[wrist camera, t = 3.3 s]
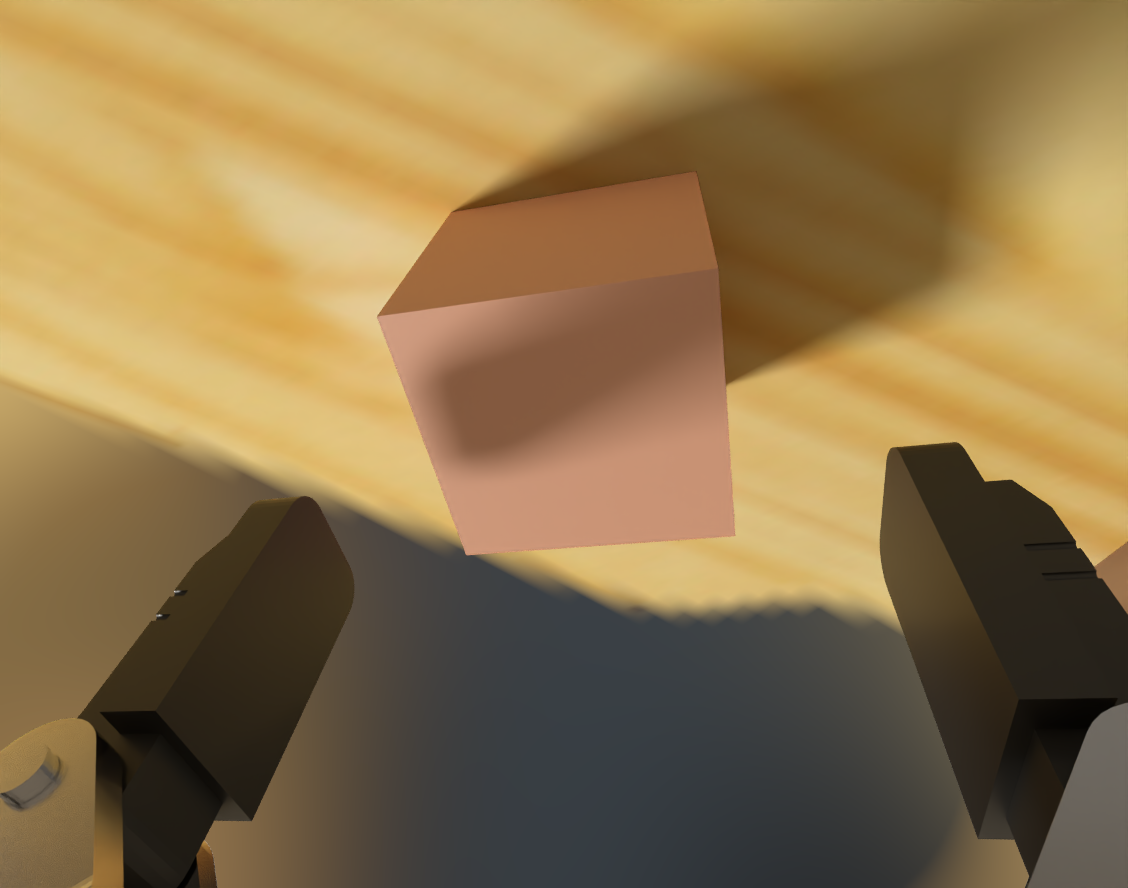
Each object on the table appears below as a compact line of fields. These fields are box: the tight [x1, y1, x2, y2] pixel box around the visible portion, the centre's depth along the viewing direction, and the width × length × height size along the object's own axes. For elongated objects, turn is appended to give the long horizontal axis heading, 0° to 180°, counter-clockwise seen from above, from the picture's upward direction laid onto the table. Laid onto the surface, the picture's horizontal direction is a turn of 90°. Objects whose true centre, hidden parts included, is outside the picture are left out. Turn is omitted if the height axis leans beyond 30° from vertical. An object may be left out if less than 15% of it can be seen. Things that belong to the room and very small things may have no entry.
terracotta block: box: [377, 171, 735, 555], centre depth 13 cm, size 5×5×5 cm
